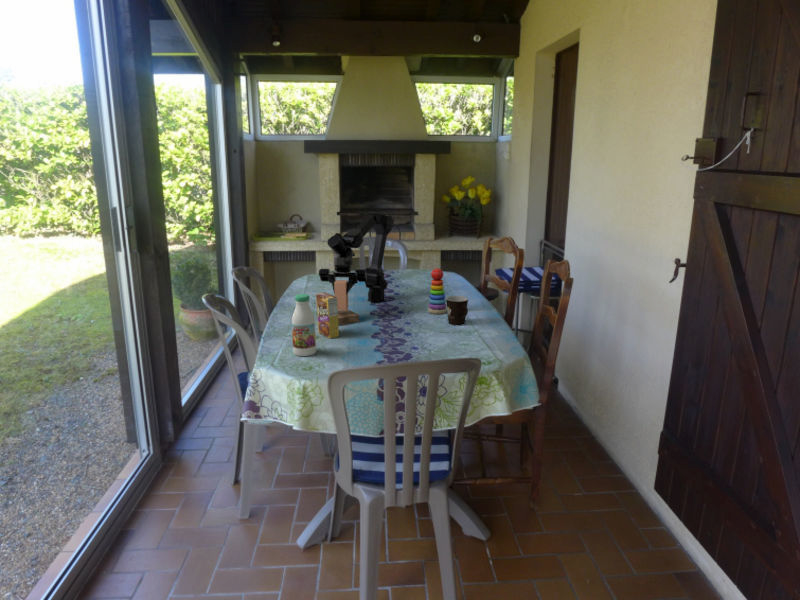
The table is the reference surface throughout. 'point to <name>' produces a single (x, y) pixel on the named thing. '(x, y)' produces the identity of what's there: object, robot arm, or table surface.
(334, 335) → the candy box
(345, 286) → the terracotta block
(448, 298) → the coffee mug
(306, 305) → the milk bottle
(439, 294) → the stacking toy
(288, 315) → the table surface
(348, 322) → the walnut plinth
